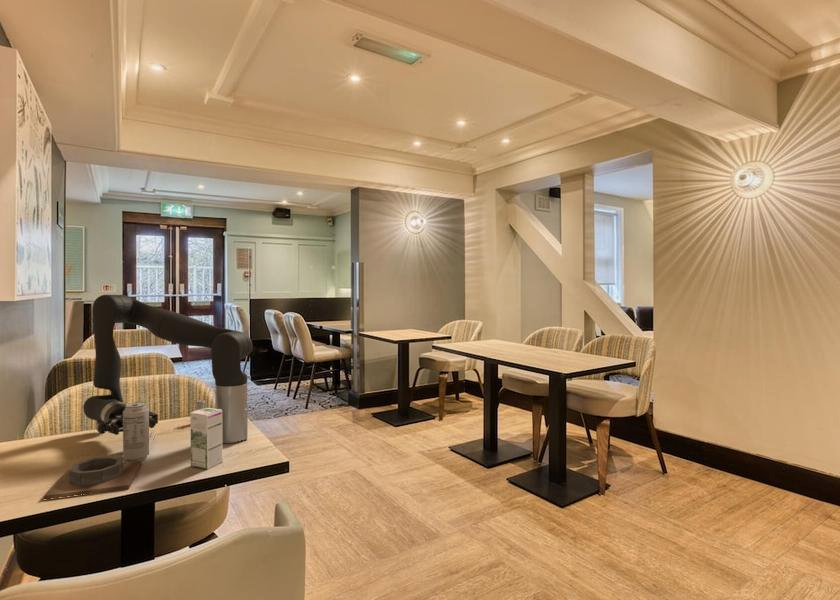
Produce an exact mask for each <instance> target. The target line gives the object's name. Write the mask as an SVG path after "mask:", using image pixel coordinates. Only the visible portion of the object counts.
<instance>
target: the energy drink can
mask: <svg viewBox="0 0 840 600" xmlns="http://www.w3.org/2000/svg"><path fill="white" fill-rule="evenodd" d="M126 404H127V403H126ZM149 411H150V409H149V407H148V406H147V402H143V401H141V402H140V401H139V402H131V403H128V404H127V405H126V408H125V409H124V411H123V432H122V450H123V451H122V454H123V455H122V459H123V460H125V463H127V462H135V461H141V462H142V461H144V460H146V459H147V458H148V456H149V455H150V442H149V440H150V427H149Z"/></svg>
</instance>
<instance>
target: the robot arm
mask: <svg viewBox="0 0 840 600" xmlns="http://www.w3.org/2000/svg"><path fill="white" fill-rule="evenodd" d="M91 314H92V316H91V317H92V326H93V336H94V338H93V339H94V347H95V350H94V351H95V358H94V359H95V360H94V363H95V364H94V373H93V383H92V385H93V387H94V388H97V389H100V390H109V392H110V394H101V395H92V396H90V397H88V398H87V399H86V400H85V402H84V403H83V407H82V408H83V413H84V415H85V416H86V417H87V418H88V419H90V420H93V421H96V430H97V432H98V433H99V435H103V434H105V433H106V432H108V434H112V435H115V436H116V435H119V434H120V433H123V411H124V409H125V408H126V405H127V403H125V402H124V399H123V395H122V391H121V381H120V380H121V371H122V358H121V355H120V352H119V350H118V347H117V345H116V342H115V339H114V332H115V331H114V329H115V324H130V325H136V326H140V327H142V328H145V329H147V331H149V332H150V333H151V334H152V335H154V336H155V337H156V338H158V339H161V340H163V341H166V342H170V343H173V344H177V345H183V346H189V347H201V348H207V349H211V350H210V351H211V352H210V355H211V356H210V357H211V371H212V372H211V373H212V376H213V378H214V382H215V383H214V386H215V387H214V391H215V392H214V409H221V410H222V444H233V443H234V444H235V443H239V442H242V441H246V440H245V439H247V440H248V427H249V426H248V421H249V419H248V417H249V416H248V374H247V373H246V372H244V371H242V365H241V360H244V359H245V358H247V357H249V355H250V354H251V353H252V351H253V348H254V346H253V341H252V339H251V338H250V336H249V335H247V334H246V333H244V332H242V331H240V330H236V329H235V330H234V329H229V328H225V327H219V326H216V325H212V324H210V323H207V322H204V321H202V320H199V319H197V318H194V317H190V316H188V315H185V314H182V313H179V312H175V311H172V310H169V309H165V308H161V307H156V306H152V305H149V304H147V303H145V302H142V301H140V300H138V299H136V298H133V297H131V296H129V295H125V294H102V295H99V296H98V297H96V298H95V300H94V301H93V305H92V311H91ZM158 423H159V414H158V413H155V412H154V411H150V410H149V429H153V428H155V427H156V424H158ZM241 440H242V441H241ZM238 441H239V442H238Z"/></svg>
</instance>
